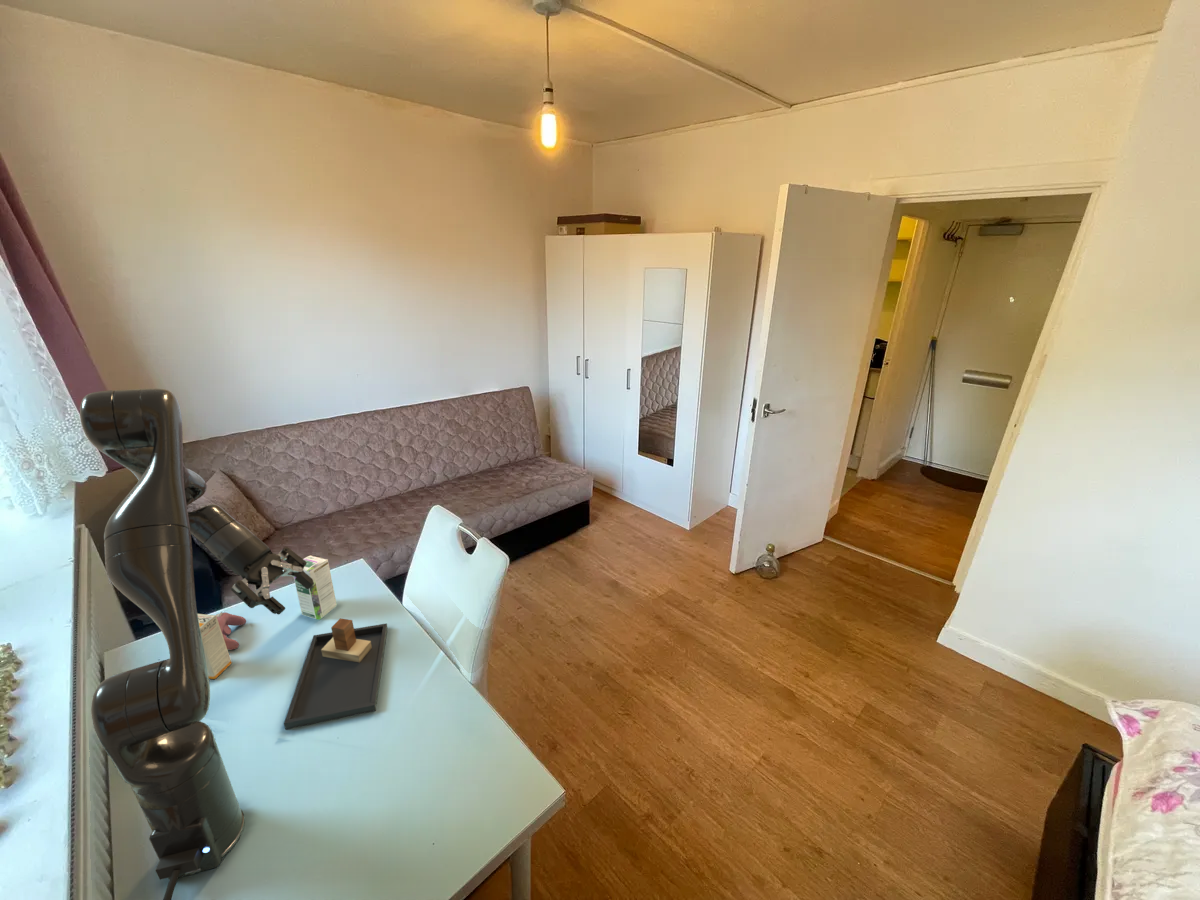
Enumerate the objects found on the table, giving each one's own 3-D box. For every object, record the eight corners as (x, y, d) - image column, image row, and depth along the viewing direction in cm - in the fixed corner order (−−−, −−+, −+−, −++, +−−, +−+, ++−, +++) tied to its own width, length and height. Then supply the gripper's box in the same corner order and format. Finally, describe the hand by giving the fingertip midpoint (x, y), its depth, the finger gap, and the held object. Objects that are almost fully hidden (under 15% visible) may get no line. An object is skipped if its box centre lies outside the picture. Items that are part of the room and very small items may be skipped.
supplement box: (233, 662, 106) (218, 614, 101) (215, 680, 102) (198, 630, 97) (198, 658, 107) (181, 610, 102) (178, 676, 102) (159, 626, 97)
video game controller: (230, 631, 117) (207, 613, 113) (249, 619, 118) (226, 601, 114) (221, 660, 108) (195, 642, 105) (240, 647, 109) (216, 629, 106)
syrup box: (301, 616, 120) (289, 567, 115) (320, 601, 125) (309, 553, 120) (319, 621, 118) (308, 572, 113) (338, 606, 124) (328, 558, 118)
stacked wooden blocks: (372, 647, 110) (367, 619, 108) (359, 662, 106) (354, 633, 103) (336, 642, 112) (330, 614, 109) (322, 656, 108) (315, 628, 105)
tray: (376, 712, 96) (374, 705, 95) (286, 731, 91) (283, 723, 91) (388, 630, 117) (386, 623, 116) (315, 642, 112) (313, 635, 111)
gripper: (215, 557, 95) (280, 612, 98) (272, 521, 108) (328, 570, 111) (199, 576, 98) (263, 629, 100) (256, 539, 111) (311, 587, 113)
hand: (297, 598), depth 105 cm, fingers open, 8 cm apart
